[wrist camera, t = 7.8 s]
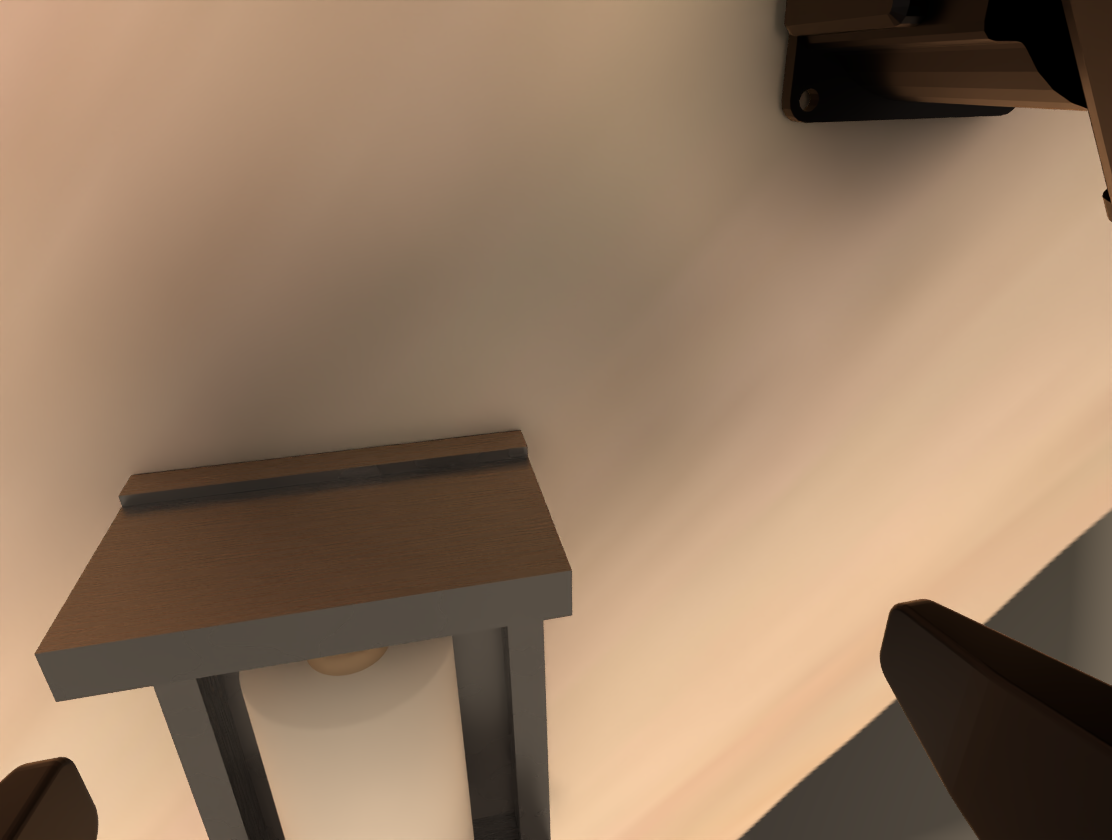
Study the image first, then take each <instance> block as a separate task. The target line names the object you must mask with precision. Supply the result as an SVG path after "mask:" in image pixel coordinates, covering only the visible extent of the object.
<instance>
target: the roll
mask: <svg viewBox="0 0 1112 840" xmlns="http://www.w3.org/2000/svg"><path fill="white" fill-rule="evenodd" d="M239 681H240V686H241V690H242V693H243V697H244V700H245V704H246V707H247V711H248V714H249V717H250V721H251V724H252V728H253V731H254V734H255V738H256V741H257V745H258V748H259V752H260V755H261V758H262V762H263V765H264V769H265V772H266V775H267V779H268V782H269V786H270V789H271V792H272V796H273V799H274V803H275V806H276V810H277V813H278V816H279V820H280V823H281V827H282V830H283V833H284V837H285V840H474V833H473V824H472V814H471V805H470V796H469V787H468V778H467V769H466V760H465V750H464V741H463V732H462V723H461V714H460V705H459V696H458V686H457V677H456V668H455V659H454V650H453V641H452V636H446V637H440V638H434V639H428V640H423V641H417V642H411V643H405V644H399V645H393V646H387V647H381V648H375V649H369V650H363V651H357V652H351V653H345V654H339V655H333V656H327V657H321V658H315V659H309V660H303V661H297V662H291V663H286V664H280V665H274V666H268V667H262V668H256V669H250V670H244V671H239Z"/></svg>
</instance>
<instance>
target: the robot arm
mask: <svg viewBox="0 0 1112 840" xmlns="http://www.w3.org/2000/svg"><path fill="white" fill-rule="evenodd" d="M785 26H786V28H787V30H788V31H789V39H788V48H787V57H786V66H785V75H784V84H783V93H782V109H783V112H784V114H785V116H786V117H787V118H789V119H790V120H792V121H796V122H804V123H813V122H840V121H867V120H894V119H921V118H948V117H975V116H1001V115H1005V114H1008V113H1009V112H1010V111H1012V110H1013V109H1014V108H1015V107H1022V108H1041V109H1060V110H1079V111H1088V113H1089V117H1090V121H1091V125H1092V129H1093V133H1094V137H1095V141H1096V145H1097V149H1098V153H1099V157H1100V161H1101V165H1102V169H1103V174H1104V178H1105V182H1106V186H1107V189H1106V190H1105V191H1104V192H1103V195H1102V196H1103V200H1104V204H1105V208H1106V212H1107V216H1108V219H1109V220H1110V221H1111V222H1112V0H787V4H786V13H785ZM805 90H807V91H808V92H809V94H810V101H809V104H808V106H807V107H806V108H805V109H804V110H802V109H801V107H800V103H799V100H800V97H801V94H802V93H803V92H804V91H805ZM880 663H881V668H882V671H883V673H884V676H885V678H886V680H887V681H888V683H889V685H890V687H891V689H892V691H893V693H894V694H895V696H896V698H897V700H898V702H899V704H900V705H901V707H902V709H903V711H904V713H905V715H906V716H907V718H908V720H909V722H910V724H911V726H912V727H913V729H914V731H915V733H916V735H917V737H918V739H919V740H920V742H921V744H922V746H923V748H924V749H925V751H926V753H927V755H928V757H929V759H930V761H931V762H932V764H933V766H934V768H935V770H936V772H937V773H938V775H939V777H940V778H941V780H942V782H943V784H944V786H945V787H946V789H947V791H948V792H949V794H950V796H951V797H952V799H953V800H954V802H955V804H956V805H957V807H958V808H959V810H960V812H961V813H962V815H963V816H964V818H965V819H966V821H967V822H968V824H969V825H970V827H971V828H972V830H973V831H974V833H975V834H976V836H977V837H978V839H979V840H1112V685H1109V684H1107V683H1105V682H1103V681H1101V680H1099V679H1097V678H1095V677H1092V676H1090V675H1088V674H1086V673H1084V672H1082V671H1080V670H1078V669H1076V668H1073V667H1071V666H1069V665H1067V664H1065V663H1063V662H1061V661H1058V660H1057V659H1054V658H1052V657H1050V656H1048V655H1046V654H1044V653H1042V652H1040V651H1037V650H1035V649H1033V648H1031V647H1029V646H1027V645H1025V644H1023V643H1020V642H1018V641H1016V640H1014V639H1012V638H1010V637H1008V636H1006V635H1004V634H1002V633H999V632H997V631H995V630H993V629H991V628H989V627H987V626H985V625H983V624H980V623H978V622H976V621H974V620H972V619H970V618H968V617H966V616H963V615H961V614H959V613H957V612H955V611H953V610H951V609H949V608H947V607H944V606H942V605H940V604H938V603H936V602H934V601H931V600H927V599H919V600H913V601H908V602H903V603H898V604H896V605H894V606H893V607H892V609H891V610H890V612H889V616H888V620H887V624H886V629H885V633H884V637H883V642H882V646H881V650H880ZM97 834H98V815H97V810H96V807H95V805H94V803H93V801H92V799H91V796H90V794H89V792H88V790H87V788H86V786H85V784H84V782H83V780H82V778H81V776H80V774H79V772H78V770H77V768H76V766H75V764H74V763H73V761H71V760H70V759H68V758H66V757H58V758H53V759H47V760H42V761H37V762H31V763H26V764H23V765H21V766H19V767H17V768H16V769H14V770H13V771H12V772H11V773H9V774H8V775H7V776H6V777H5V778H4V779H3V780H2V781H1V782H0V840H96V839H97Z"/></svg>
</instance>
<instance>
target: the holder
mask: <svg viewBox="0 0 1112 840" xmlns="http://www.w3.org/2000/svg"><path fill="white" fill-rule="evenodd" d="M119 499H120V502H121V505H122V508H121V509H120V511H119V513H118V514H117V516H116V518H115V519H114V521H113V523H112V525H111V526H110V528H109V530H108V531H107V533H106V535H105V536H104V538H103V540H102V541H101V543H100V545H99V546H98V548H97V550H96V551H95V553H94V555H93V556H92V558H91V560H90V562H89V563H88V565H87V567H86V568H85V570H84V572H83V573H82V575H81V577H80V578H79V580H78V582H77V583H76V585H75V587H74V588H73V590H72V592H71V593H70V595H69V597H68V599H67V600H66V602H65V604H64V605H63V607H62V609H61V610H60V612H59V614H58V615H57V617H56V619H55V620H54V622H53V624H52V625H51V627H50V629H49V630H48V632H47V634H46V636H45V637H44V639H43V641H42V642H41V644H40V646H39V647H38V649H37V651H36V652H35V656H36V658H37V661H38V663H39V665H40V667H41V670H42V672H43V674H44V676H45V678H46V681H47V683H48V685H49V687H50V689H51V692H52V694H53V696H54V698H55V700H56V702H59V701H65V700H71V699H77V698H83V697H89V696H95V695H101V694H107V693H113V692H119V691H125V690H131V689H137V688H143V687H149V686H154V689H155V692H156V695H157V697H158V700H159V703H160V706H161V708H162V711H163V714H164V717H165V719H166V722H167V725H168V728H169V730H170V733H171V736H172V739H173V741H174V744H175V747H176V750H177V752H178V755H179V758H180V761H181V763H182V766H183V769H184V771H185V774H186V777H187V780H188V782H189V785H190V788H191V791H192V793H193V796H194V799H195V802H196V804H197V807H198V810H199V813H200V815H201V818H202V821H203V824H204V826H205V829H206V832H207V835H208V837H209V840H285V837H284V833H283V830H282V827H281V823H280V820H279V816H278V813H277V810H276V806H275V803H274V799H273V796H272V792H271V789H270V786H269V782H268V779H267V775H266V772H265V769H264V765H263V762H262V758H261V755H260V752H259V748H258V745H257V741H256V738H255V734H254V731H253V728H252V724H251V721H250V717H249V714H248V711H247V707H246V704H245V700H244V697H243V693H242V690H241V686H240V681H239V671H244V670H250V669H256V668H262V667H268V666H274V665H280V664H286V663H291V662H297V661H303V660H309V659H315V658H321V657H327V656H333V655H339V654H345V653H351V652H357V651H363V650H369V649H375V648H381V647H387V646H393V645H399V644H405V643H411V642H417V641H423V640H428V639H434V638H440V637H446V636H452V641H453V650H454V659H455V668H456V677H457V686H458V696H459V705H460V714H461V723H462V732H463V741H464V750H465V760H466V769H467V778H468V787H469V796H470V805H471V814H472V824H473V833H474V840H551V838H550V808H549V778H548V749H547V719H546V689H545V660H544V630H543V620H548V619H554V618H559V617H565V616H571V615H572V570H571V567H570V565H569V562H568V559H567V557H566V554H565V552H564V549H563V547H562V544H561V541H560V539H559V536H558V534H557V531H556V528H555V526H554V523H553V521H552V518H551V516H550V513H549V510H548V508H547V505H546V503H545V500H544V497H543V495H542V492H541V490H540V487H539V485H538V482H537V479H536V477H535V474H534V472H533V469H532V466H531V464H530V461H529V459H528V452H527V445H526V442H525V440H524V437H523V435H522V432H521V430H519V431H510V432H501V433H493V434H484V435H475V436H467V437H458V438H450V439H441V440H432V441H424V442H415V443H407V444H398V445H389V446H381V447H372V448H364V449H355V450H346V451H338V452H329V453H321V454H312V455H303V456H295V457H286V458H278V459H269V460H260V461H252V462H243V463H234V464H226V465H217V466H209V467H200V468H191V469H183V470H174V471H166V472H157V473H148V474H140V475H131V477H130V478H129V480H128V482H127V483H126V485H125V486H124V488H123V490H122V491H121V493H120V495H119Z"/></svg>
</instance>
